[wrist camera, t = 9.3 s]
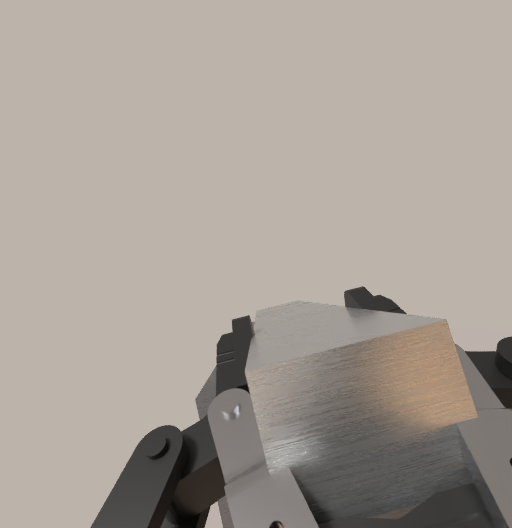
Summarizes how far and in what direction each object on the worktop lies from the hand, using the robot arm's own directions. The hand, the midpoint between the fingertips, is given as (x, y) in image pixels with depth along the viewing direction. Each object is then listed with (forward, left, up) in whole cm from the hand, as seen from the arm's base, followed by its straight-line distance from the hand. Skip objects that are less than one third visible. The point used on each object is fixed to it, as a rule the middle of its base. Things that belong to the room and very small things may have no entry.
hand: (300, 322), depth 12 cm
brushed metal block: (-2, -4, -3) cm, 5 cm away
